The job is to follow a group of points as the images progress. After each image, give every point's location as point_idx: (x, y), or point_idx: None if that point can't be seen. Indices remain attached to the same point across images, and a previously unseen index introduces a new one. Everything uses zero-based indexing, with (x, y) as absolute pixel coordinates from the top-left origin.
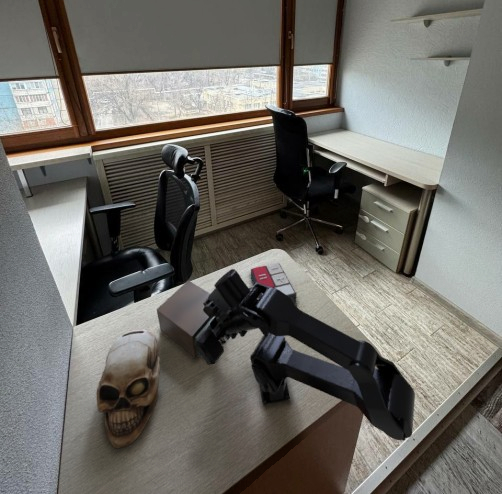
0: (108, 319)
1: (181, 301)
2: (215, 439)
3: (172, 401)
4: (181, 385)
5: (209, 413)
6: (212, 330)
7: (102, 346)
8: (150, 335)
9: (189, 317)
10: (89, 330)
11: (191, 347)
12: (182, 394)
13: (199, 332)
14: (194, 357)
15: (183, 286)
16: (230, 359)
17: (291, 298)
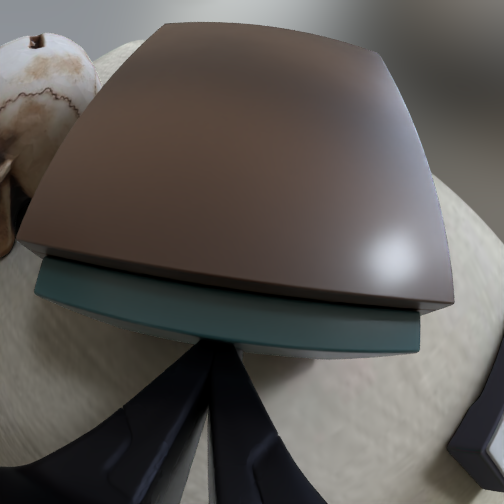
0: None
1: (255, 50)
2: (6, 459)
3: (8, 303)
4: (40, 306)
5: (25, 433)
6: None
7: (111, 71)
8: (26, 70)
9: (157, 122)
10: (141, 44)
11: None
12: (24, 324)
13: (80, 275)
14: None
15: (337, 42)
16: (193, 459)
17: (497, 488)
